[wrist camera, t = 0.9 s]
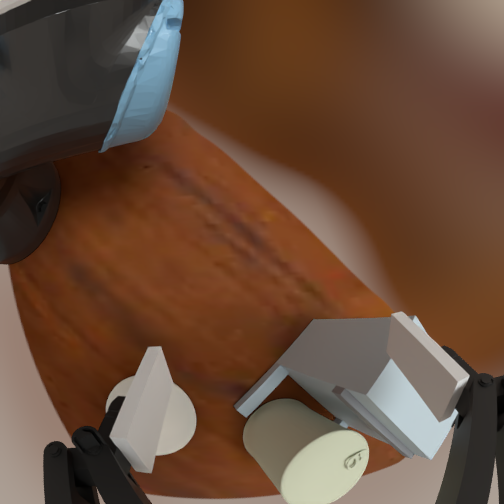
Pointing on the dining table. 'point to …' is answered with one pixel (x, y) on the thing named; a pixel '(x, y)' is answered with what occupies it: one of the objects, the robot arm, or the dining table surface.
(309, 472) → the can
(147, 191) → the dining table surface
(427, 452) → the pale blue footed box
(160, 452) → the coaster
